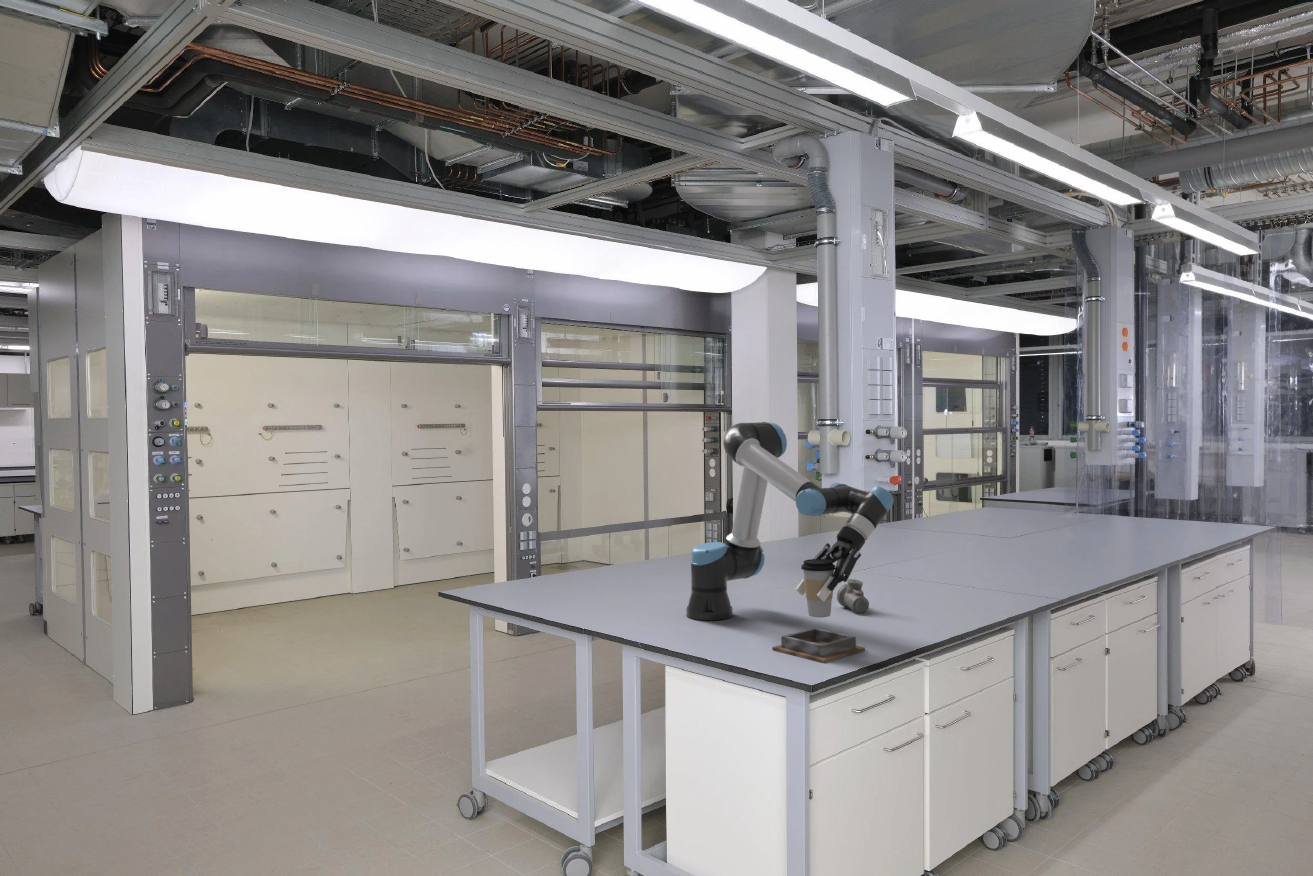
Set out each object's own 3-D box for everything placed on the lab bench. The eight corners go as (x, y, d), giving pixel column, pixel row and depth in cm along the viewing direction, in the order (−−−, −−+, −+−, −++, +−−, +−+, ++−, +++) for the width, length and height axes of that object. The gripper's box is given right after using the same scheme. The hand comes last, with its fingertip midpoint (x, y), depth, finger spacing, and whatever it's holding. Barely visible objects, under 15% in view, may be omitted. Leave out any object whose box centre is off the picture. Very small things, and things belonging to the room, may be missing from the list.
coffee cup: (833, 619, 237) (832, 564, 237) (799, 618, 240) (797, 563, 240) (839, 612, 246) (837, 559, 246) (805, 610, 249) (804, 558, 249)
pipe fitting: (834, 605, 299) (838, 576, 297) (857, 606, 300) (860, 577, 299) (847, 617, 287) (851, 587, 286) (871, 618, 288) (874, 588, 287)
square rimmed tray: (772, 650, 245) (772, 636, 245) (814, 638, 256) (813, 625, 256) (823, 663, 231) (823, 648, 231) (865, 650, 243) (865, 636, 242)
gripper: (888, 546, 239) (842, 611, 233) (838, 538, 259) (794, 597, 253) (872, 528, 237) (825, 593, 231) (823, 521, 257) (778, 580, 250)
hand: (809, 595), depth 242 cm, fingers closed on coffee cup, 9 cm apart
